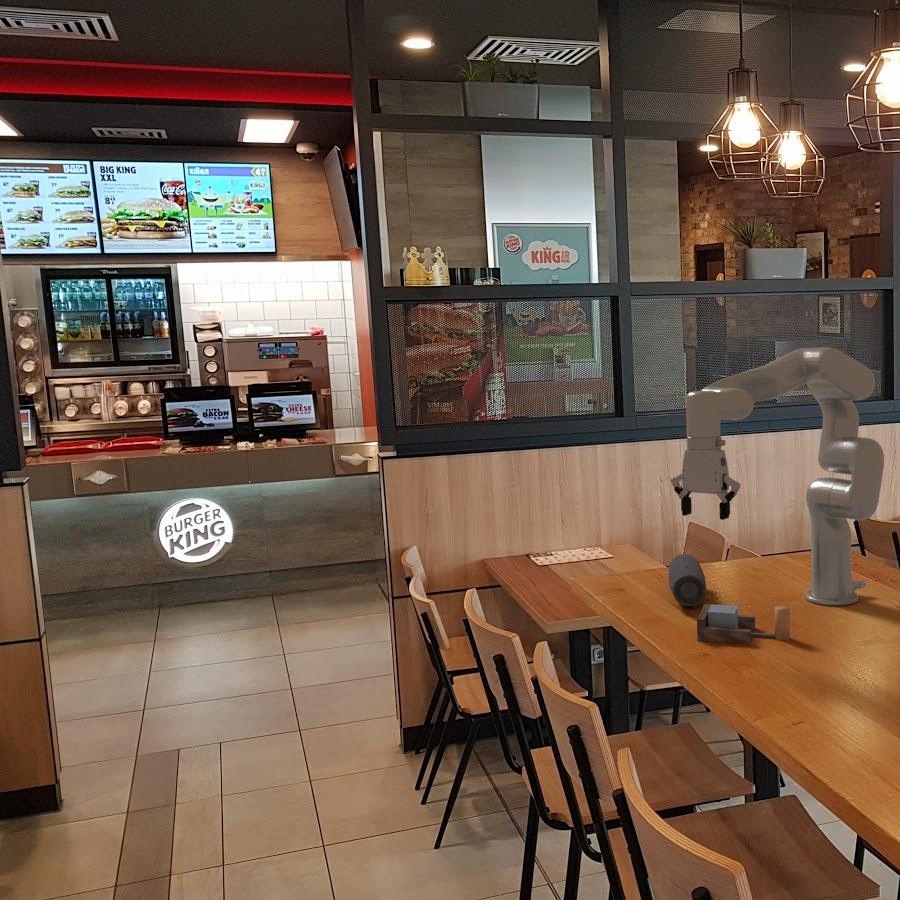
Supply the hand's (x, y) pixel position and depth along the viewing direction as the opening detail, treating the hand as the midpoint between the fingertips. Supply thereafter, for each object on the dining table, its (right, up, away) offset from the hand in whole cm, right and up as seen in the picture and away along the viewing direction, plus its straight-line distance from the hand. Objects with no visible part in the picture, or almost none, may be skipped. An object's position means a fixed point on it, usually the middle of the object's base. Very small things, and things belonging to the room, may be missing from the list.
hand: (705, 516), depth 208 cm
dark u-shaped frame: (+6, -28, 0) cm, 28 cm away
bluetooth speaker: (+4, -24, +30) cm, 39 cm away
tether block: (+10, -27, -2) cm, 29 cm away
